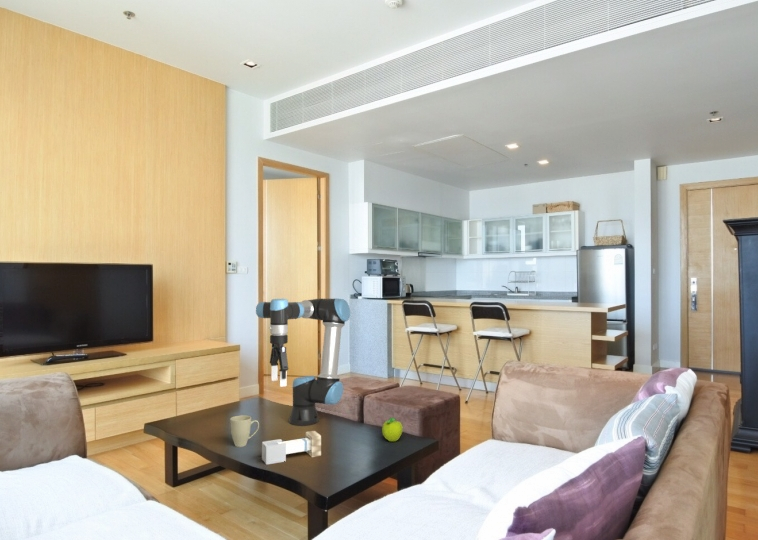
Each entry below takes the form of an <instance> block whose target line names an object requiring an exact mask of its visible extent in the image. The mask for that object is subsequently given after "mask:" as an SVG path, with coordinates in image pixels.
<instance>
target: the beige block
mask: <svg viewBox="0 0 758 540" xmlns="http://www.w3.org/2000/svg"><path fill="white" fill-rule="evenodd" d="M305 438H310V439H311V450H308V451H305V452H306V453H307V454H308V455H309V456H310V457H311V458H315V457H321V456H322V435H321V434H320V433H318V432H317V431H316V430H311V431H310V430H309V431H305Z"/></svg>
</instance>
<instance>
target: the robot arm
mask: <svg viewBox="0 0 758 540" xmlns="http://www.w3.org/2000/svg"><path fill="white" fill-rule="evenodd" d="M255 314H256V316H257V317H258V318H261V319H269V320H270V324H269V327H268V329H269V333H270V336H269V343H270V344H271V351H270V357H269V364H270V368H271V369H270V378H271V379H270V380H271V382H275V381H276V382H277V381H279V387H280V388H281V387H287V383H288V382H287V376H288V375H287V374H288V373H287V371H289V369H290V368H289V363H288V362H289V361H288V355H287V346H285V344H288V341H289V340H288V339H289V338H288V337H289V336H288V333H289V324H288V321H289V320H297V319H300V318H302V319H310V320H318V321H322V325H323V326H324V336H323V343H322V354H321V355H322V356H321V365H320V373H319V374H318V375H317V376H315V375H305V376H301V377H296V378H294V379H293V381H292V387H291V388H292V407H291V411H290V415H289V418H288V423H289V424H291V425H293V426H310V425H314V424H317V423H319V414H318V411H317V408H316V404H321V405H328V406H329V405H330V406H331V405H333V406H335V405H337V404H338V403H339V402H340V400H341V399H342V397H343V394H344V384H343V382H341V381H340V379H341V378H340V377H339V375H338V367H339V358H340V349H341V347H340V346H341V335H342V328H343V327H344V326H345V323H346V322H348V321H349V319H350V316H351V310H350V305H349V303H348V302H347V300H345V299H342V298H313V299H304V300H302V301H297V302H296V301H288V299H287V298H273V299H271V300H270V301H260V302H258V303H257V305H256V306H255ZM278 366H279V367H280V369H279V370H278ZM278 372H279V374H278ZM278 375H279V380H278Z"/></svg>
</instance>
